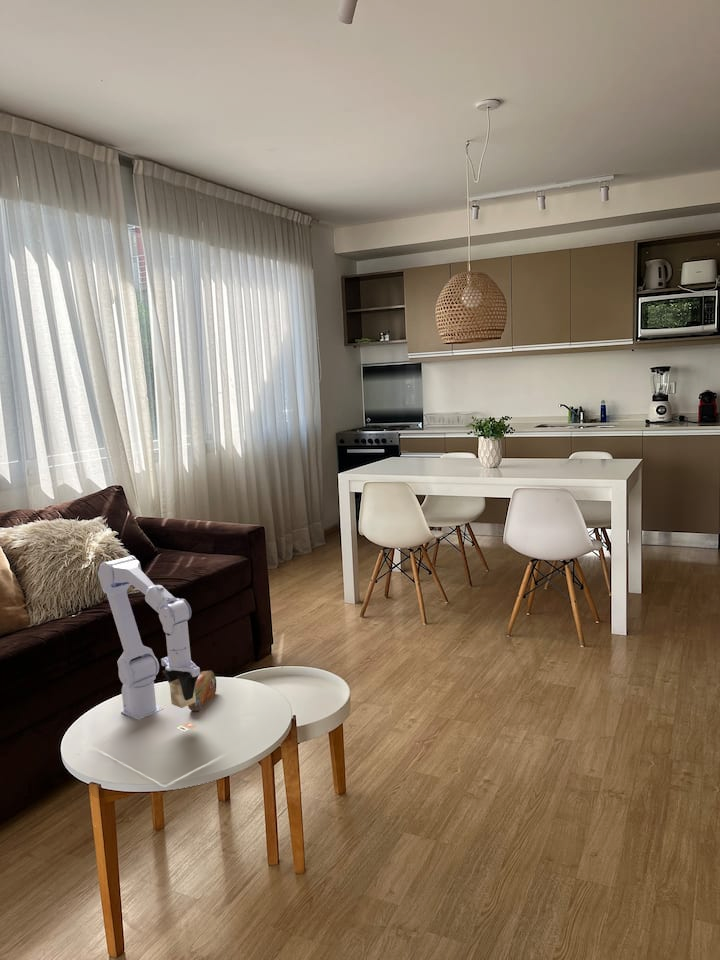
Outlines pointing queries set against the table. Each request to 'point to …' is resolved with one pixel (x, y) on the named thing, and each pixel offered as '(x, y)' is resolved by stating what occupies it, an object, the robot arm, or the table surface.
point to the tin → (204, 689)
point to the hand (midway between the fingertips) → (183, 696)
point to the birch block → (179, 695)
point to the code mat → (185, 728)
